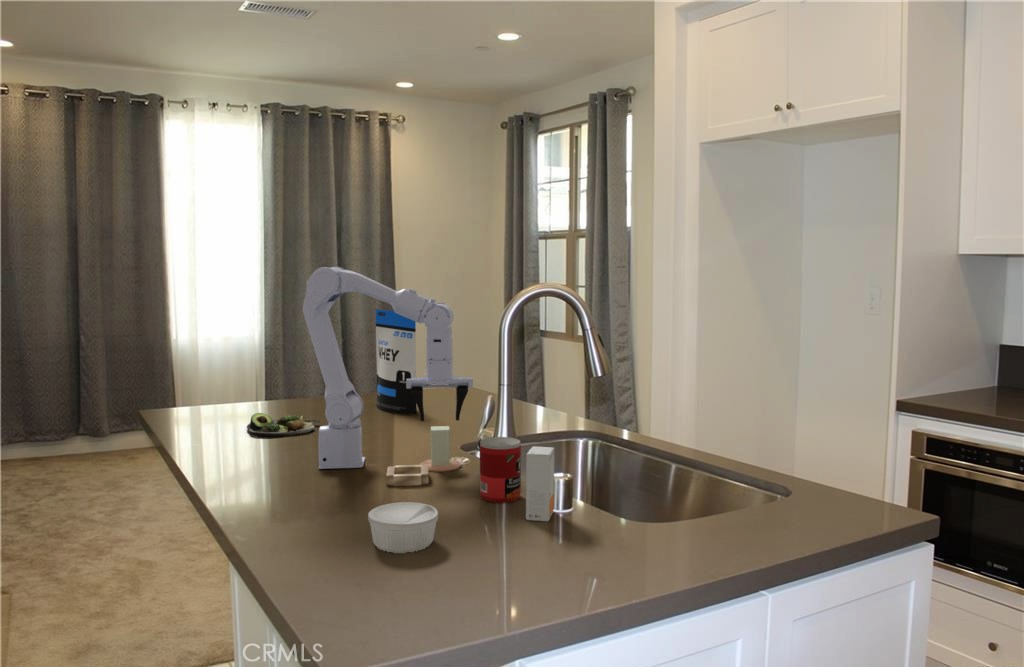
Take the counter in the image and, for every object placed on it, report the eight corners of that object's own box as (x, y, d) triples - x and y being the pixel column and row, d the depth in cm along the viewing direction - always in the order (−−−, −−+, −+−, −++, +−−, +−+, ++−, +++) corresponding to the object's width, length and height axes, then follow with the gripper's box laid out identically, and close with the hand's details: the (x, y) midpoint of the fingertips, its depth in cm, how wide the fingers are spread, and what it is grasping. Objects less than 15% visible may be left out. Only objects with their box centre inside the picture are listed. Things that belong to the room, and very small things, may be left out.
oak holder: (386, 486, 160) (386, 476, 160) (388, 474, 168) (387, 465, 168) (428, 484, 161) (428, 475, 161) (428, 473, 169) (428, 464, 169)
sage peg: (431, 466, 173) (431, 430, 172) (431, 461, 177) (430, 426, 176) (449, 465, 174) (449, 429, 173) (449, 461, 177) (448, 426, 177)
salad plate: (314, 421, 226) (314, 405, 225) (329, 433, 210) (328, 416, 209) (243, 427, 217) (242, 411, 217) (253, 441, 201) (252, 423, 201)
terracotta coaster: (420, 472, 170) (419, 469, 170) (420, 461, 179) (420, 459, 179) (461, 471, 171) (461, 468, 171) (459, 460, 180) (459, 457, 180)
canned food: (512, 505, 148) (512, 447, 147) (473, 500, 151) (473, 443, 150) (526, 493, 155) (526, 438, 154) (488, 489, 158) (488, 435, 157)
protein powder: (390, 401, 255) (388, 308, 252) (430, 413, 236) (429, 312, 233) (363, 404, 249) (361, 309, 246) (402, 417, 230) (400, 314, 227)
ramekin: (444, 552, 124) (444, 519, 124) (373, 560, 121) (372, 526, 121) (431, 529, 135) (431, 499, 134) (365, 535, 132) (364, 504, 131)
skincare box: (549, 522, 138) (549, 455, 137) (525, 520, 139) (525, 453, 138) (554, 511, 144) (554, 446, 143) (531, 509, 145) (531, 445, 144)
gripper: (405, 361, 168) (406, 424, 170) (473, 360, 170) (473, 422, 171) (406, 357, 175) (407, 417, 177) (471, 356, 177) (472, 416, 178)
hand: (440, 419), depth 174 cm, fingers open, 7 cm apart
